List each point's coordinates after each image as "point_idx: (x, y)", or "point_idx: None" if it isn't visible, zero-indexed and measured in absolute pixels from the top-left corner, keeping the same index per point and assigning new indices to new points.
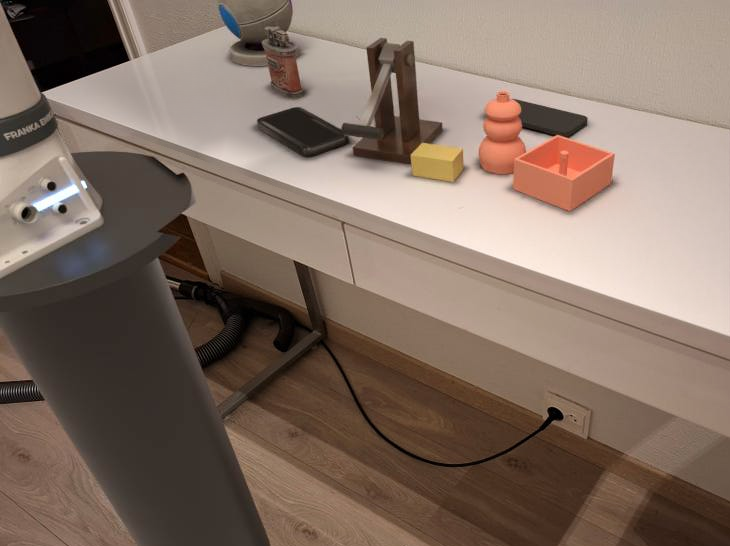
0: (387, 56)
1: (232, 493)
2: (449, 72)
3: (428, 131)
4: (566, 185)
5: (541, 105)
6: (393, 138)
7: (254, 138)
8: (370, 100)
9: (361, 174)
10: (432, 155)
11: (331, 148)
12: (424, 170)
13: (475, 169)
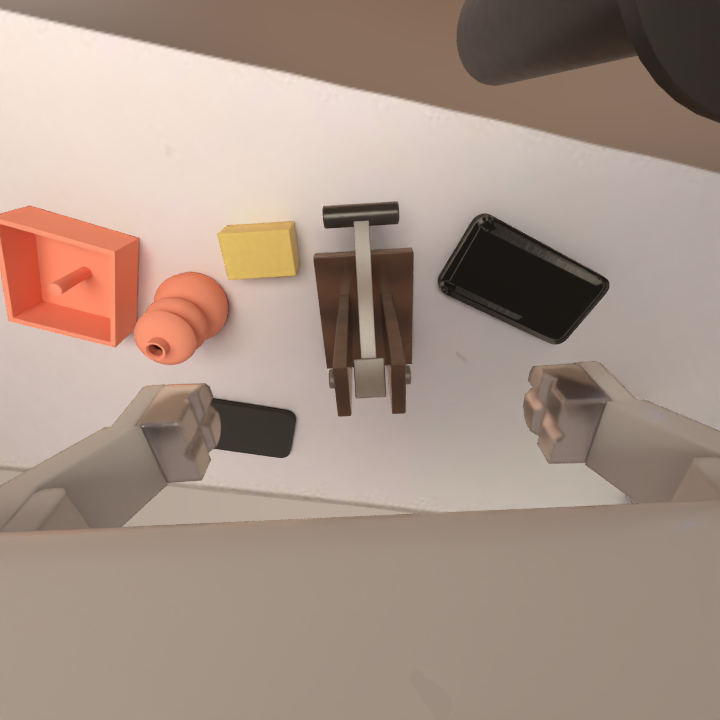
0: (368, 367)
1: (488, 15)
2: (403, 501)
3: (330, 337)
4: (12, 217)
5: (238, 451)
6: None
7: (595, 243)
8: (368, 275)
9: (369, 194)
10: (255, 239)
11: (453, 252)
12: (270, 225)
13: (222, 274)
